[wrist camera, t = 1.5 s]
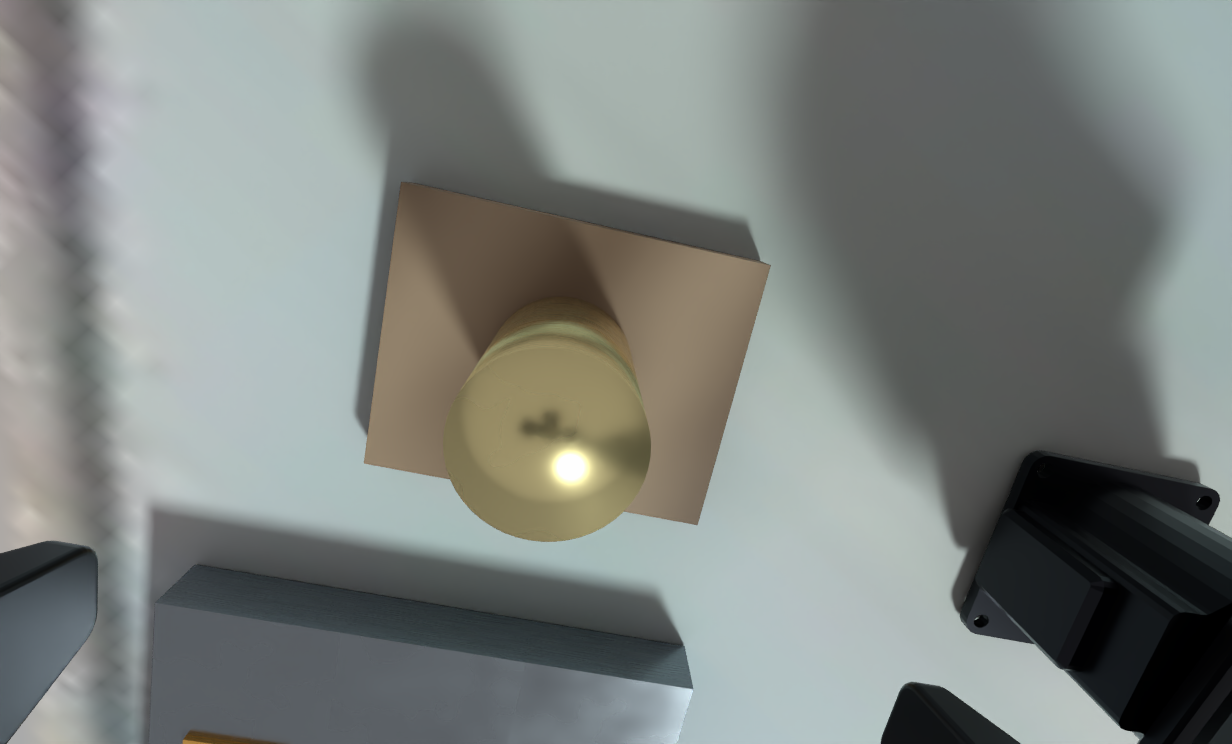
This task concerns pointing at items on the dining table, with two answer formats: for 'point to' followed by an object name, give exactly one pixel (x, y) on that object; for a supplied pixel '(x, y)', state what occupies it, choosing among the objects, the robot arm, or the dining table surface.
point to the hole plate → (394, 671)
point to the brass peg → (550, 424)
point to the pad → (559, 267)
